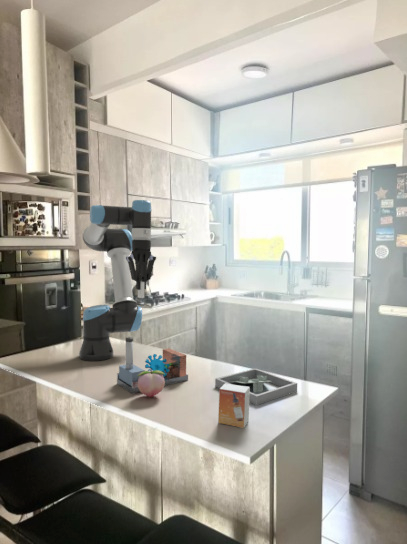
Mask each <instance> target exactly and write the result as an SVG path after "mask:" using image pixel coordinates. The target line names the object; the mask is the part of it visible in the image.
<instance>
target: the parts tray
mask: <svg viewBox="0 0 407 544" xmlns="http://www.w3.org/2000/svg"><path fill="white" fill-rule="evenodd" d="M257 375H260V376H263V377H264V376H267V381H272V382H269V383H271V384H274V385H276V386H279V387H276V388H273V389H270V390H267V391H263V392H260V393H258V394H257V393H254V392H251V391H250V397H249V403H251V404H253V405H255V406H258V405H262V404H265V403H267V402H270V401H272V400H276V399H278V398H282V397H284V395H285V396H287V394H288V395H290V394H289V393H291V394H293V393H292V392H294V393H296V392H297V391H298V382H296V381H293V380H289V379H287V378H284V377H281V376H278V375H276V374H272V373H269V372H268V371H265V370H261V369H259V368H251V369H247V370H243V371H239V372H235V373H231V374H228V375H224V376H221V377H216V378H215V379H214V380H215V382H214V383H215V384H214V386H215V388H218V389H220V388H221V387H222V386H223V385H224V384H225V383H227V384H232V385H234V384H233V383H235V382H230V381H239V377H246V378H247V377H248V380H250V379H252V378H257ZM295 391H296V392H295ZM281 396H282V397H281Z"/></svg>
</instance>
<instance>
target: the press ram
mask: <svg viewBox="0 0 407 544" xmlns="http://www.w3.org/2000/svg"><path fill="white" fill-rule="evenodd" d="M143 371H146V370H145V369H144V368H141V367H139V366H138V365H135V364H134V337H132V336H128V337H125V364H120V365H118V373H119V379H121V380H122V381H124V382H126V383H127V384H129V385H131V386H132V382H134V381H138V379H139V377H140V376H138V375H139V374H140V373H141V372H143ZM137 376H138V377H137Z"/></svg>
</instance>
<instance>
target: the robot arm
mask: <svg viewBox="0 0 407 544" xmlns="http://www.w3.org/2000/svg"><path fill="white" fill-rule="evenodd" d="M152 210H153V209H152V202H151V201H150V200H145V199H135V200H133V201H132V204H131V206H115V205H102V204H98V205H97V204H96V205H90V209H89V221H90V223H89V224H88V226H86V228H85V229H84V230H83V233H82V241H83V242H84V244H85V245H86V247H88V248H89V249H90V250H93V251H96V252H106V254H107V257H109V258H110V262H111V273H112V275H111V276H112V285H113V293H114V302H113V303H112V306H111V307H110V305H109V304H97V305H92V306H89V307H86V308H85V309H84V310H83V313H82V314H83V315H82V322H83V324H82V325H83V326H82V327H83V330H82V334H83V335H82V337H83V338H82V339H83V340H82V343H81V346H80V349H79V353H78V355H79V356H78V357H79V358H78V359H80V360H83V361H88V362H96V361H97V362H98V361H100V362H101V361H105V360H109V359H112V358H113V357H114V349H113V347H112V343H111V339H110V334H113V333H131V332H137V331H139V329H140V328H141V326H142V322H143V321H142V320H143V309H142V307H141V306H139V305H138V302H137V301H136V300H134V294H133V286H132V281H135V288H136V289H135V290H137V298H139V299H145V290H147V282H148V281H150V280H151V278H152V274H153V270H154V264H155V263H156V260H157V256H154V255H153V254H152V252H151V250H152V249H151V248H152V241H151V238H152ZM112 225H115V226H117V225H119V226H131V232H130V230H129V229H127V228H125V229H123V228H109V227H110V226H112Z"/></svg>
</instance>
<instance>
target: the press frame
mask: <svg viewBox="0 0 407 544" xmlns="http://www.w3.org/2000/svg"><path fill="white" fill-rule="evenodd" d="M164 359H166V360H167V361H166V363H165V364H169V363H171V366H170V367H168V369H169V372H168V373H166V370H165V373H166V374H167V375H166V376H165V377H164V376H163V377H164V381H165V385H164V387H166V386H171V385H173V384H177V383H181V382H187V381H188V380H189V374H187V354H185V353H182V352H180V351H177V350H175V349H172V348H169V347H168V348H163V349H162V360H164ZM163 363H164V362H163ZM162 375H163V374H162ZM116 384H117V385H118V386H119V387H121V388H123V389H124V390H126V391H127V392H129V393H131V394H132V395H133V394H137V393H138V394H139V393H141V392H140V390H139V388H138V381H134V382H132V386H131V385H129V384H127V383H126V382H124V381H122V380H121V379H119V372H118V373H116Z"/></svg>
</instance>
